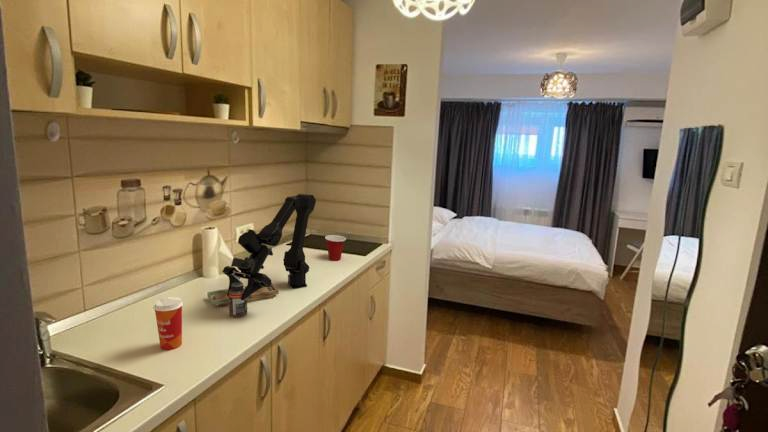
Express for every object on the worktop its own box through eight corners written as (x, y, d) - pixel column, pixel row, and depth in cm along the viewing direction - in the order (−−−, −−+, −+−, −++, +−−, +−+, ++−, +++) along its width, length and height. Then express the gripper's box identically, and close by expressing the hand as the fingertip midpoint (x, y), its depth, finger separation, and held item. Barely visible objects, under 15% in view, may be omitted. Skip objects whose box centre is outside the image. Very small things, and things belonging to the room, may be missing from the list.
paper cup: (151, 346, 119) (147, 302, 117) (176, 336, 126) (173, 294, 123) (165, 355, 115) (162, 309, 112) (191, 344, 121) (188, 300, 119)
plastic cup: (341, 263, 204) (341, 240, 201) (321, 261, 206) (321, 238, 204) (348, 257, 214) (349, 235, 212) (329, 255, 217) (329, 233, 214)
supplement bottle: (229, 311, 144) (228, 281, 142) (247, 310, 146) (246, 280, 144) (229, 319, 139) (228, 287, 137) (247, 316, 141) (246, 286, 139)
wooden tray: (270, 287, 169) (270, 281, 169) (279, 297, 159) (279, 291, 159) (207, 297, 156) (206, 291, 156) (212, 308, 146) (211, 302, 146)
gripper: (225, 244, 146) (201, 282, 138) (265, 252, 138) (242, 293, 130) (242, 259, 154) (220, 296, 146) (280, 267, 146) (260, 307, 139)
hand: (234, 298), depth 140 cm, fingers closed on supplement bottle, 6 cm apart
